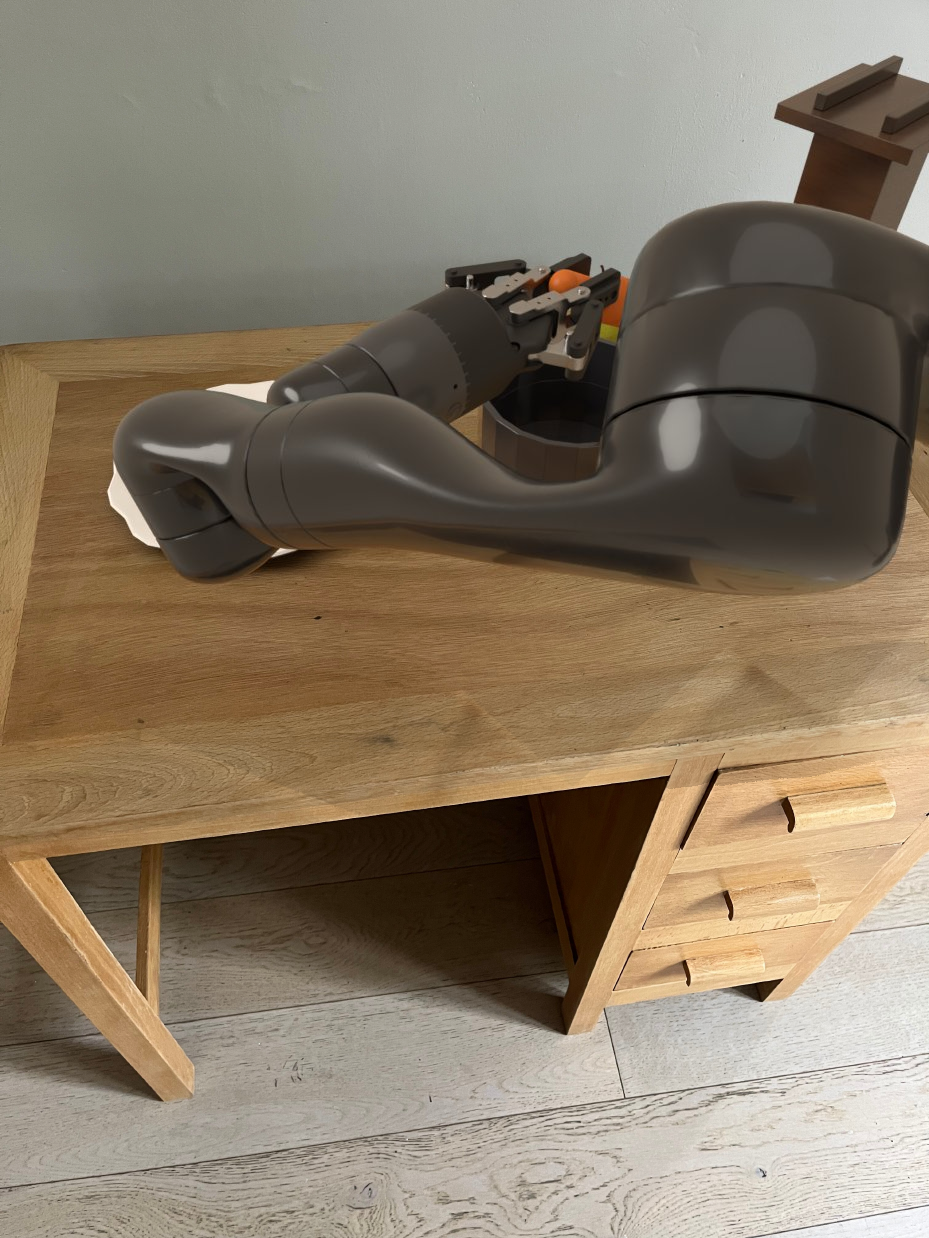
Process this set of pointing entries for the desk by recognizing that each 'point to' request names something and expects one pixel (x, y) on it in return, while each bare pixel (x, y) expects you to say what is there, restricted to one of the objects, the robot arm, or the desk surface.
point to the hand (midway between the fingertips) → (600, 274)
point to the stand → (862, 140)
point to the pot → (550, 419)
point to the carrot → (571, 279)
